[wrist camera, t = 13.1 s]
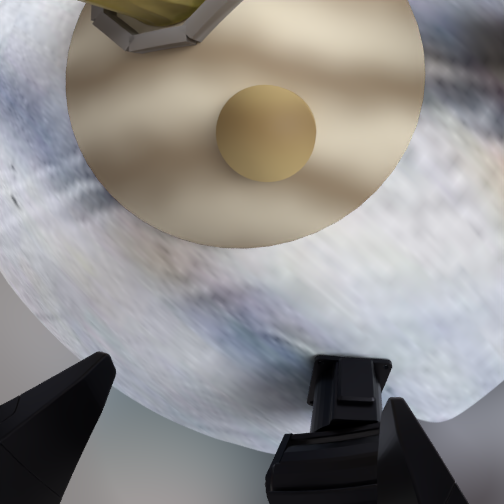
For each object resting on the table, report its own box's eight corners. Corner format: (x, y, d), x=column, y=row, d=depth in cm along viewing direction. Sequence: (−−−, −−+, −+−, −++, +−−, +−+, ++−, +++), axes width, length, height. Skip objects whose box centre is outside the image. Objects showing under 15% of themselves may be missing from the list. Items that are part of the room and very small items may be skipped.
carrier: (399, 256, 20) (409, 280, 17) (93, 231, 24) (70, 247, 21) (405, -78, 9) (414, -99, 6) (79, -39, 13) (54, -47, 11)
